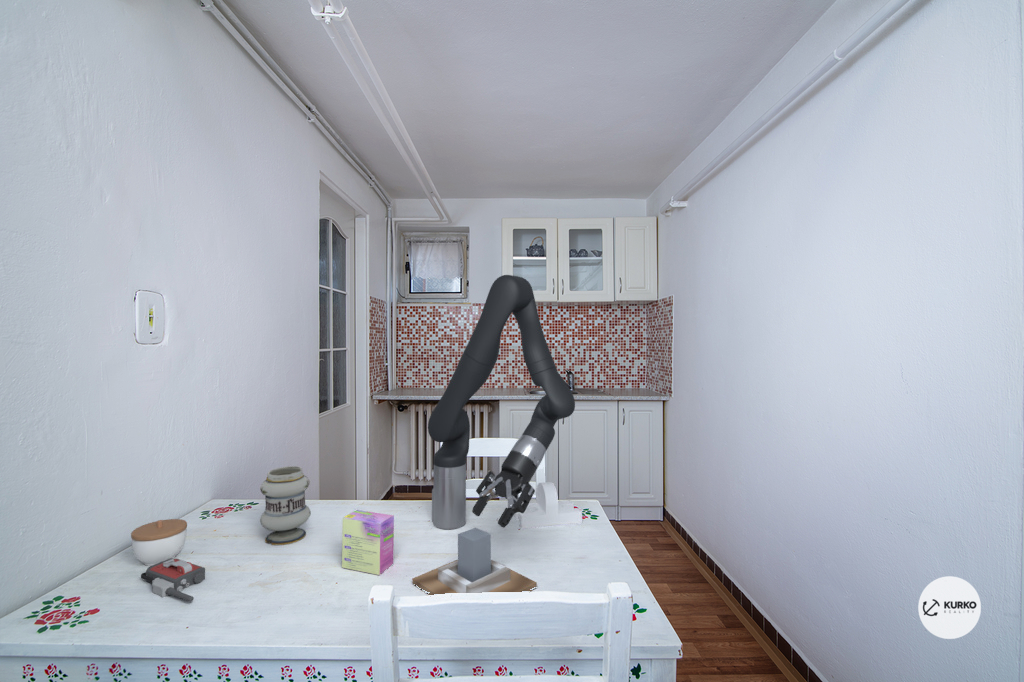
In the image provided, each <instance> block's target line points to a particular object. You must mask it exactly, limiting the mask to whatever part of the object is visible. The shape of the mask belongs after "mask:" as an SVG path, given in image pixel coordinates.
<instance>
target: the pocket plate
mask: <svg viewBox="0 0 1024 682" xmlns="http://www.w3.org/2000/svg"><path fill="white" fill-rule="evenodd" d="M411 580H412V583H413V584H415V585H417V586H418V587H419V588H421V589H423V590H425V591H427V592H430V593H429V594H427V595H428V596H429V595H434V594H445V593H482V592H522V591H531V592H532V591H533V590H530V589H532V588H534V587H536V586H537V585H538V583H537V581H535V580H532V579H530V578H528V577H527V576H524V575H523V574H521V573H518V572H516V571H515V570H513V569H510V568H509V567H507V566H505V565H503V564H501V563H499V562H497V561H495V560H494V559H491V574H489V575H487V576H485V577H483V578H480V579H478V580H476V581H474V582H470V581H468V580H466V579H465V578H463V577H461V576H460V575H458V559H456V560H454V561H451V562H449V563H446V564H444V565H441V566H438V567H436V568H433V569H432V570H429V571H427V572H424V573H422V574H420V575H418V576H415V577H412V579H411ZM413 584H412V585H413ZM415 585H414V586H415ZM418 587H417V588H418ZM537 587H538V586H537ZM419 588H418V589H419ZM421 589H420V590H421Z"/></svg>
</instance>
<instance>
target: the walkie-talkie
mask: <svg viewBox="0 0 1024 682" xmlns="http://www.w3.org/2000/svg"><path fill="white" fill-rule="evenodd" d="M140 578H141V579H142V580H144V581H145V582H146V583H148V584H151V587H152V594H153V593H154V594H156V595H158V596H160V597H161V598H165V597H168V596H173V597H175V598H177V599H178V598H179V599H180V600H186V601H188V602H193V601H194V599H195V597H194V596H192V595H190V594H187V593H185V592H182V591H183V590H184V589H187V588H189V587H191V586H194V585H195V584H200V583H201V582H202V581H204V580H205V579H206V567H204V566H201V565H198V564H194V563H191V562H189V561H186V560H184V559H179V558H174V559H173V558H170V559H167V560H165V561H162V562H160V563H157V564H155V565H152V566H147V569H146V570H145V571H144V572H142V573H141V574H140Z"/></svg>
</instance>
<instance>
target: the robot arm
mask: <svg viewBox="0 0 1024 682" xmlns="http://www.w3.org/2000/svg"><path fill="white" fill-rule="evenodd" d="M486 296H487V297H486V300H485V302H484V306H483V307H482V310H481V311H482V312H481V314H480V316H479V319H478V321H477V323H476V325H475V328H474V329H473V332H472V333H471V336H470V339H469V341H468V343H467V344H466V346H465V348H464V350H463V353H462V355H461V356H460V358H459V361H458V364H457V366H456V368H455V370H454V372H453V374H452V376H451V378H450V380H449V382H448V385H447V386H446V389H445V391H444V393H443V394H442V395H441V397H440V400H439V401H438V402H437V404H436V406H435V407H434V408H433V411H432V412H431V414H430V416H429V418H428V421H427V422H428V423H427V431H428V435H429V437H430V438H431V439H432V441H435V442H437V443H442V444H441V446H440V447H439V449H438V450H437V451H436V452H435V453H434V455H433V488H432V489H431V522H433V525H434V527H435V528H438V529H440V530H441V529H442V530H454V529H459V528H461V527H463V526H465V525H466V523H467V522H466V521H467V519H466V518H467V514H466V513H467V512H466V511H467V457H468V454H469V451H470V434H471V431H470V430H471V424H470V417H469V414H468V413H467V411H466V410H465V408H464V407H465V405H466V404H467V403H468V402H469V400H470V399H471V398H472V397H473V396H474V395H475V394H476V393H477V392H478V391H479V390H480V389H481V388H482V387H483V385H484V384H485V383H486V381H487V380H488V379H489V377H490V375H491V374H492V371H493V369H494V368H495V365H496V364H497V361H498V358H499V355H500V348H501V338H502V337H501V336H502V333H503V330H504V327H505V326H506V324H507V322H508V320H509V318H510V316H511V314H512V315H513V317H514V319H515V321H516V322H517V325H518V328H519V332H520V337H521V338H520V339H521V348H522V349H521V350H522V355H523V359H524V362H525V366H526V368H527V371H528V373H529V376H530V378H531V381H532V383H533V384H534V385H535V386H537V387H541V388H542V390H543V391H544V393H545V395H543V396H542V397H541V398H540V399H539V400H538V402H537V404H536V406H535V408H534V409H533V412H532V415H531V418H530V422H529V423H528V424H527V426H526V428H525V429H524V431H523V432H522V434H521V435H520V437H519V438H518V440H516V442H515V443H514V445H513V446H512V447H511V450H510V451H509V453H508V454H507V455H506V457H505V459H504V460H503V462H502V464H501V471H500V472H499V473H498V474H496V473H495V474H494V472H493V471H492V470H490V471H488V472H487V473H486V475H485V477H483V480H482V481H481V482H480V484H479V485H478V487H477V488H476V489H475V492H476V493H477V494H478V496H479V497H478V498H477V501H476V502H475V504H474V505H473V507H472V509H471V510H472V514H474V515H475V516H476V517H480V516H481V514H482V513H483V511H484V509H485V508H486V506H487V505H488V502H489V501H491V500H493V499H497V498H499V497H500V498H505V499H506V500H507V507H505V508H504V509H503V511H502V513H501V516H499V519H498V520H497V525H499V526H500V527H501V528H502V529H505V528H506V527H507V526H508V525H509V524H510V522H511V521H512V519H513V518H514V514H515V513H517V512H521V513H524V512H525V510H526V508H527V506H528V504H529V503H531V500H532V498H533V496H534V494H535V492H536V490H535V488H534V487H533V486H532V485H531V484H530V482H531V481H532V478H533V477H534V475H535V473H536V471H537V470H538V468H539V466H540V465H541V464H542V461H543V459H544V457H545V454H546V452H547V450H548V449H549V447H550V445H551V444H552V442H553V440H554V438H555V435H556V431H555V425H556V423H557V422H558V421H559V420H561V419H566V418H569V417H570V416H572V415H573V413H574V411H575V408H576V402H575V397H574V394H573V392H572V390H571V389H570V387H569V386H568V384H567V383H566V382H565V380H564V379H563V377H562V376H561V375H560V373H559V371H558V369H557V366H556V363H555V361H554V358H553V356H552V353H551V350H550V349H549V345H548V343H547V340H546V337H545V335H544V331H543V327H542V324H541V320H540V316H539V313H538V307H537V303H536V298H535V294H534V291H533V287H532V285H531V283H530V281H528V280H527V279H526V278H524V277H522V276H518V275H512V274H504V275H500V276H499V277H497V278H496V279H495V280H494V282H493V283H492V284H491V286H490V289H489V291H488V293H487V295H486ZM519 494H520V495H519Z"/></svg>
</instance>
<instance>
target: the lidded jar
mask: <svg viewBox="0 0 1024 682" xmlns="http://www.w3.org/2000/svg"><path fill="white" fill-rule="evenodd" d="M187 527H188V522H187V521H186V520H185V519H179V518H168V519H159V520H156V521H152V522H148V523H145V524H144V525H141V526H138V527H136V528H134V529H133V531H131V532H130V539H131V547H132V549H131V550H132V552H133V555H134V556H135V558H136V560H138V561H139V562H141V563H142V564H143V565H145V566H147V567H150V566H152V565H155V564H157V563H160V562H162V561H165V560H167V559H170V558H173V559H176V556H177V555H178V554H179V553H180V552H181V550H182V549H183V547H184V546H185V542H186V539H187Z"/></svg>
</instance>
